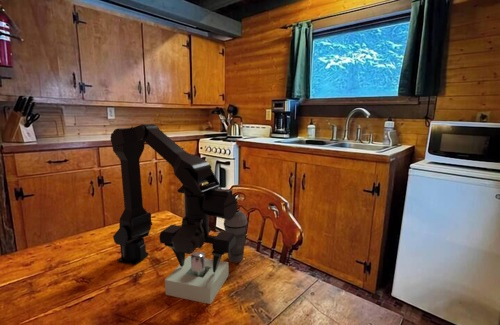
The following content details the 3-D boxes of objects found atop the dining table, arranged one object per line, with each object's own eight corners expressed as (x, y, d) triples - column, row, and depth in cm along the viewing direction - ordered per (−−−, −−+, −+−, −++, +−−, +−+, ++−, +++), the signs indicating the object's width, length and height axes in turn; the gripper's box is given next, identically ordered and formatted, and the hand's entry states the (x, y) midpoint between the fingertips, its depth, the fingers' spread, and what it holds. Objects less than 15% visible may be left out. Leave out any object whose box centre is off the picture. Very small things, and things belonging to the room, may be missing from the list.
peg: (189, 285, 71) (188, 257, 69) (195, 278, 74) (195, 250, 73) (201, 288, 70) (201, 259, 68) (207, 280, 73) (207, 252, 72)
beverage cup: (244, 266, 80) (244, 200, 77) (220, 263, 82) (220, 199, 78) (249, 254, 87) (250, 193, 84) (227, 251, 89) (227, 192, 85)
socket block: (165, 294, 68) (164, 279, 67) (189, 268, 79) (188, 255, 78) (210, 304, 64) (210, 288, 64) (228, 275, 76) (228, 262, 75)
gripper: (143, 218, 63) (147, 280, 66) (219, 229, 58) (220, 295, 61) (170, 203, 74) (172, 257, 76) (236, 211, 69) (236, 268, 71)
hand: (198, 268), depth 71 cm, fingers open, 9 cm apart
